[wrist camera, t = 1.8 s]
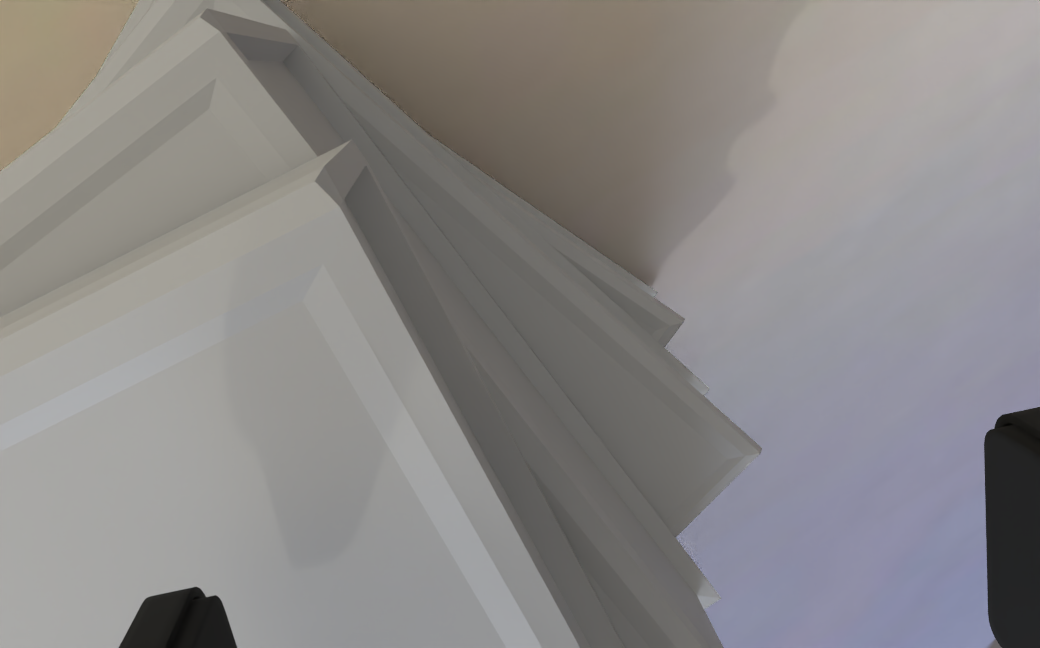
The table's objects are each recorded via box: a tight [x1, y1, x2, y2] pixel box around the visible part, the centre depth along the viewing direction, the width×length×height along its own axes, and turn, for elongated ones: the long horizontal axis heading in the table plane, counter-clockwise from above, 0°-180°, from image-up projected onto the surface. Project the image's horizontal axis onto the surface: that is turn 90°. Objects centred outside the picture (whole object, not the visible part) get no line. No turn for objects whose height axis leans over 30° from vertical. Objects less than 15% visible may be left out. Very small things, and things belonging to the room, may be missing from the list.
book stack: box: [0, 0, 762, 648], centre depth 26 cm, size 30×35×26 cm
